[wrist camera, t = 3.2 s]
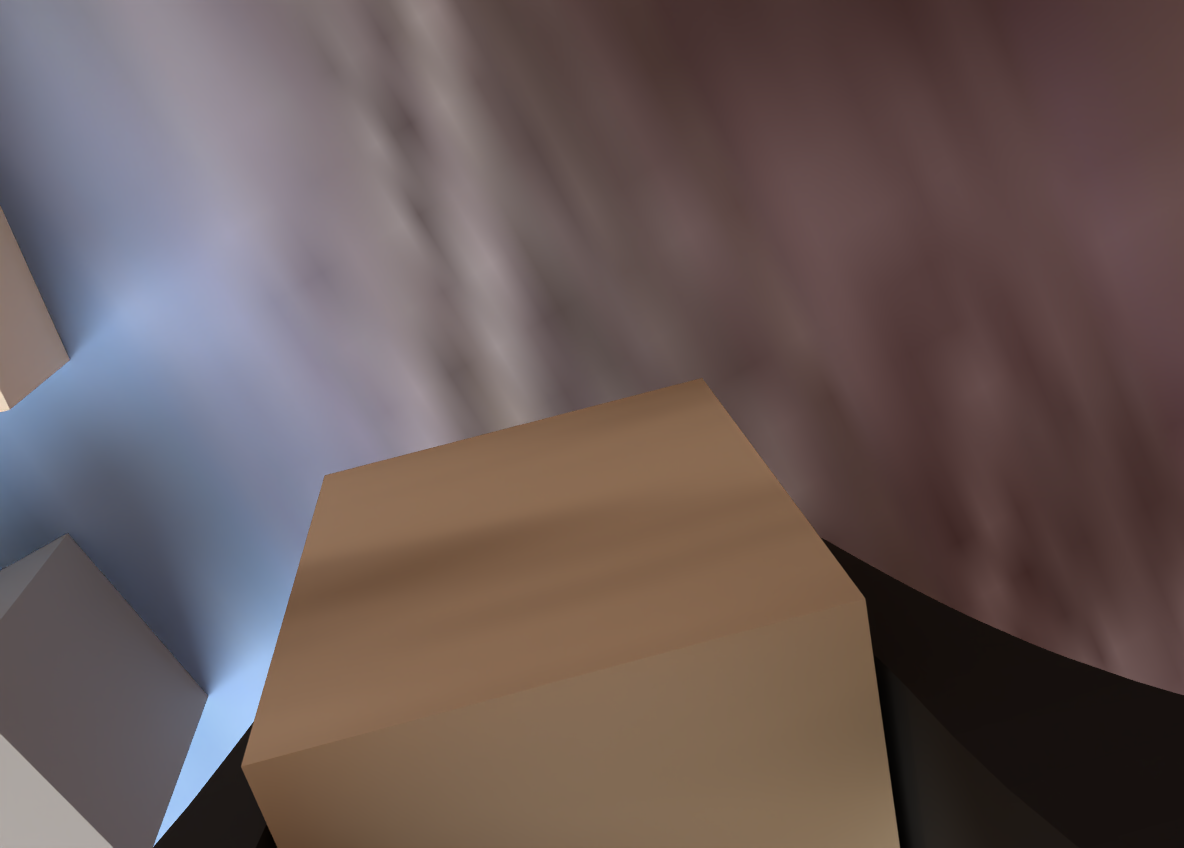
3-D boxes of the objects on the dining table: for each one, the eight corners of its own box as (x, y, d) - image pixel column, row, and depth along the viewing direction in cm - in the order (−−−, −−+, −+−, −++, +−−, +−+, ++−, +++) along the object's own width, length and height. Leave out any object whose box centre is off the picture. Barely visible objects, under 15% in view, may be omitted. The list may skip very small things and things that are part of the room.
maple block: (761, 688, 13) (924, 1029, 9) (433, 777, 13) (423, 1173, 9) (702, 378, 12) (865, 598, 7) (324, 475, 12) (240, 766, 7)
